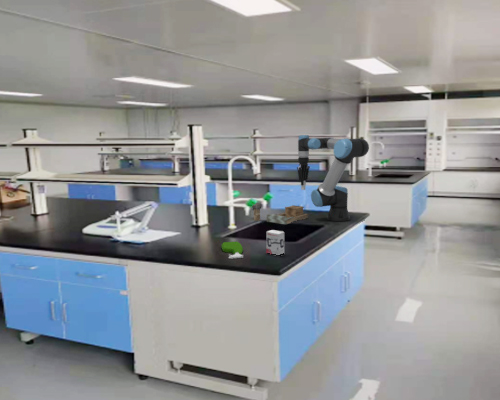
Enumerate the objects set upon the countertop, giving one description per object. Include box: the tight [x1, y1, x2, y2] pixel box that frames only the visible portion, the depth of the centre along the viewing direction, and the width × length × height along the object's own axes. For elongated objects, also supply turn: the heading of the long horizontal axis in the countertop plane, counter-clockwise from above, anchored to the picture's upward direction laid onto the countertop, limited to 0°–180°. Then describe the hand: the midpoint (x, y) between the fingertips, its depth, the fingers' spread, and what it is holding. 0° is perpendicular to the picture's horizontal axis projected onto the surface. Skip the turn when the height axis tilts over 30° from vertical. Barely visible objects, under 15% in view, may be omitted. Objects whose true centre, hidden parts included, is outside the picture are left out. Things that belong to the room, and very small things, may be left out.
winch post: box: [251, 202, 262, 222], centre depth 316 cm, size 6×4×14 cm
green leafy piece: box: [220, 241, 244, 260], centre depth 237 cm, size 3×11×24 cm
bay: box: [266, 212, 309, 225], centre depth 316 cm, size 16×26×5 cm, turn 138°
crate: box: [284, 205, 304, 218], centre depth 321 cm, size 9×9×8 cm
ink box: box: [265, 229, 285, 256], centre depth 231 cm, size 8×5×12 cm, turn 48°
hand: (303, 189), depth 327 cm, fingers closed
